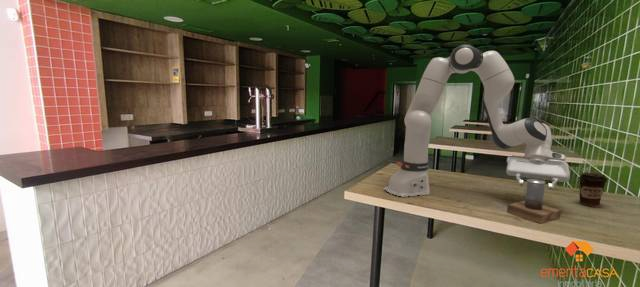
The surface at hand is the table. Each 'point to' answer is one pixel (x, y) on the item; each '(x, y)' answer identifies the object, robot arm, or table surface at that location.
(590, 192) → the coffee cup
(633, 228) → the table surface
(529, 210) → the base block
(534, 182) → the tin
